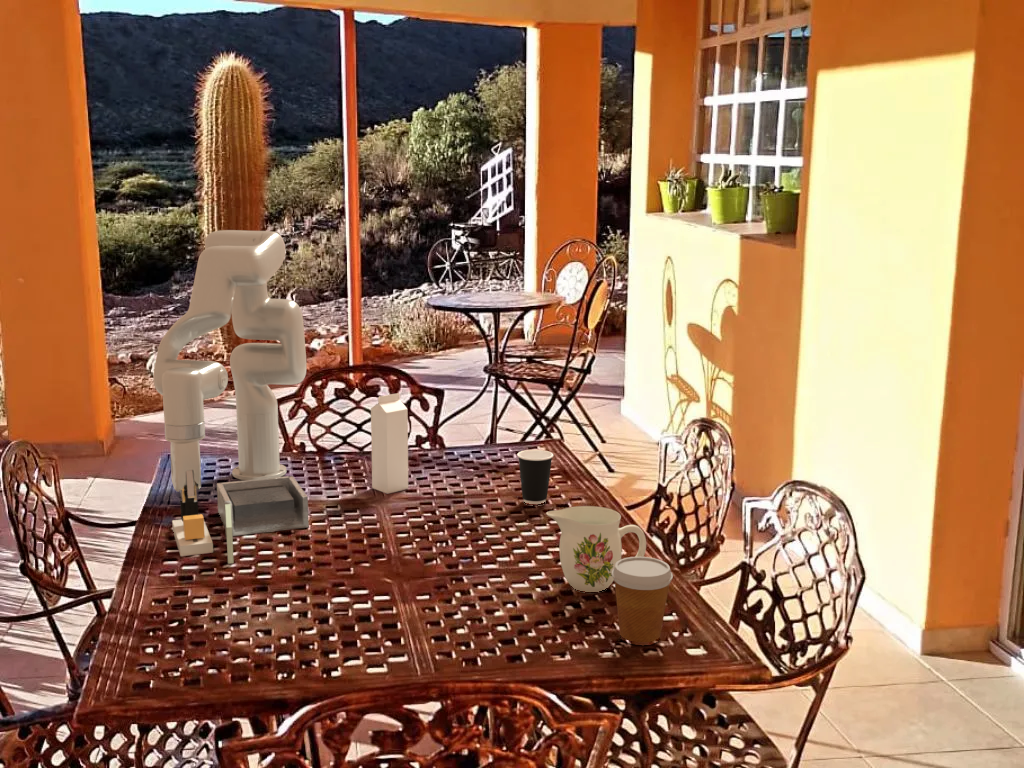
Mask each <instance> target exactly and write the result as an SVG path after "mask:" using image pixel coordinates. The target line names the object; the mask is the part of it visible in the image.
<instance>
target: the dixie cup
mask: <svg viewBox="0 0 1024 768" xmlns="http://www.w3.org/2000/svg"><path fill="white" fill-rule="evenodd" d="M516 455H517V457H518V464H519V476H520V477H519V478H520V485H521V495H522V499H523V503H524V502H525V503H529V504H541V503H544V502H545V503H546V501H547V497H548V493H549V483H550V478H551V469H552V468H551V467H552V461H553V460H552V459H553V458H554V454H553V452H551V451H548V450H544V449H543V450H542V449H526V450H522V451H521V450H520V451H519V452H518V453H517V454H516ZM525 503H524V504H525Z"/></svg>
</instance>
